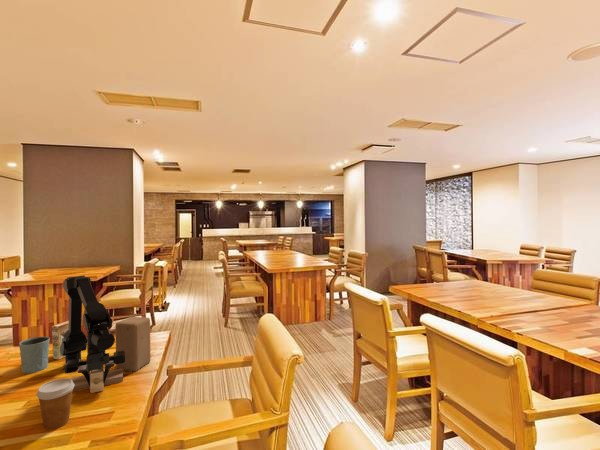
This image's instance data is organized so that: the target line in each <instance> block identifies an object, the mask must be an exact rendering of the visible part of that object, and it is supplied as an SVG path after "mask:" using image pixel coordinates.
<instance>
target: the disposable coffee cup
mask: <svg viewBox="0 0 600 450" xmlns="http://www.w3.org/2000/svg"><path fill="white" fill-rule="evenodd" d="M74 386H75V384H74V383H73V381H72V380H71V379H68V378H64V377H63V378H59V379H54V380H51V381H48V382H45V383H43V384H42V385H41V386H39V387H38V389H37V392H36V394H35V395H36V397H37V398H38V402H39V408H40V412H41V418H42V423H43V427H44V429H45V430H56V429H58V428H61V427H63V426H65V425H66V424H67V423H68V422H69V421H70V413H71V406H72V398H73V388H74Z"/></svg>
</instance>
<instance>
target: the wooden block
mask: <svg viewBox="0 0 600 450" xmlns="http://www.w3.org/2000/svg"><path fill="white" fill-rule="evenodd" d="M119 351H124V352H125V362H124V363H121V364H115V369H121V368H123V371H130V372H137V371H139V370H140V369H142V368H143V367H145V366H146V365H148V364H149V363H150V362H151V359H152V357H151V319H150V317H142V316H130V317H128V318H124V319H123V320H120V321H117V322H116V323H115V352H119Z"/></svg>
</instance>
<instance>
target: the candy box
mask: <svg viewBox="0 0 600 450" xmlns="http://www.w3.org/2000/svg"><path fill="white" fill-rule="evenodd" d="M68 323H69V319H68V320H65V321H63V322H60V323H56V324H52V326H51V333H52V334H51V335H52V341H51V342H52V359H53V360H62V359H64V358H65V356H62V355H61V354H60V346H61V343H62V342H63V337H64V335H65V333H66V332H67V331H68Z"/></svg>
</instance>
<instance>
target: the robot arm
mask: <svg viewBox="0 0 600 450" xmlns="http://www.w3.org/2000/svg"><path fill="white" fill-rule="evenodd" d="M62 287H63V290H64V292H65V293H66V294H67V296H68V297H69V298H68V320H69V323H68V331H67V332H66V333H65V335H64V337H63V342H62V343H61V346H60V354H61V355H62V356H65V357H64V358H65V359H64V363H65V364H64V366H63V371H64V374H71V373H76V372H77V373H78V374H81V375H82V376H85V378H86V380H87V382H88V384H89V386H90V372H91V371H92V370H100V369H102V368H103V367H104V378H103V383H105V380H106V377H107V374H108V372H109V371H110V370H111V368H114V366H115V365H116V364H121V363H124V362H125V352H124V351H119V352H116V351H115V352H113V355H110V353H109V352H107V353H106V350H110V349H111V348H112V347H113V346H114V344H115V343H116V337H115V336H114V335H113V334H112V333H111V332H110V331H109V328H112V326H113V325H112V323H113V320H112V317H111V314H110V313H109V310H108V309H107V307H106V306H105V304H103V303H101V302H99V300H98V298H97V295H96V294H95V293H96V292H95V291H94V289H93V287H92V281H91V277H88V276H85V275H75V276H69V277H66V278H65V279H64V280H63V281H62ZM83 308H84V311H83ZM82 324H83V325H84V328H85V331H86V334H85V333H84V332H83V331H82ZM86 350H87V351H86ZM84 351H86V353H87V355H86V360H82V352H84ZM104 365H105V366H104Z"/></svg>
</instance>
